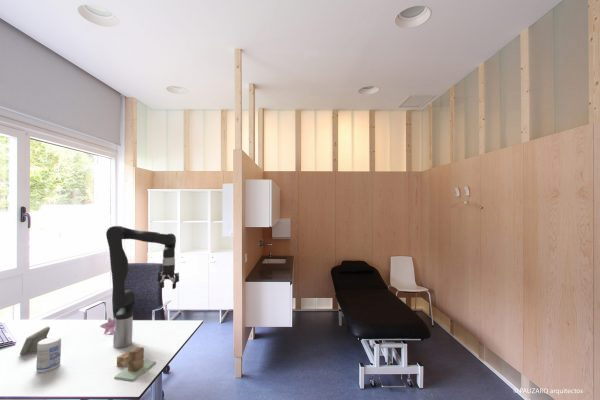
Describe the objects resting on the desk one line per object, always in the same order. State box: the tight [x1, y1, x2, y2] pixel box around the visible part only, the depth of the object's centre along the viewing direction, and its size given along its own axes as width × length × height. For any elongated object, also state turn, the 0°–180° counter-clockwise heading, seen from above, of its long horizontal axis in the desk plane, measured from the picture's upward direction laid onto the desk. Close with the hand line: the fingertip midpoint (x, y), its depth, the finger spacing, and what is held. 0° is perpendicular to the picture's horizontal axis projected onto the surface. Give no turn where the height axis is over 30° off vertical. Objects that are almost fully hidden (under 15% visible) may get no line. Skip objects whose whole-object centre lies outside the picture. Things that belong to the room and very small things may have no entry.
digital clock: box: [19, 326, 51, 357], centre depth 163 cm, size 16×9×11 cm, turn 177°
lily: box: [99, 317, 115, 335], centre depth 187 cm, size 12×12×10 cm
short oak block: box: [116, 351, 129, 368], centre depth 149 cm, size 5×5×5 cm
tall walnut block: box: [127, 346, 145, 372], centre depth 143 cm, size 5×5×10 cm
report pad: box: [113, 359, 157, 382], centre depth 143 cm, size 11×16×1 cm
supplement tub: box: [35, 335, 62, 373], centre depth 145 cm, size 10×10×15 cm
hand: (168, 288), depth 178 cm, fingers open, 8 cm apart
